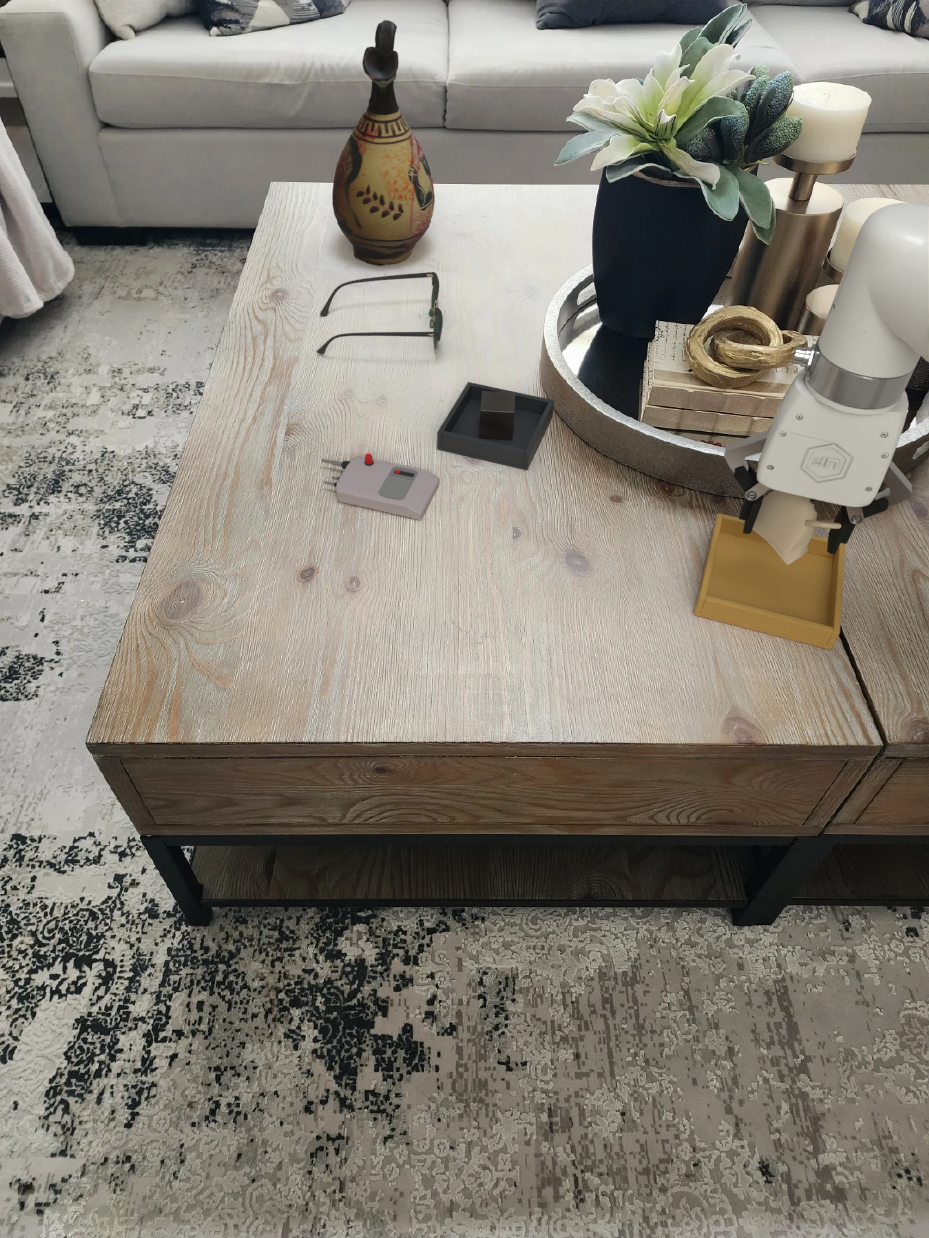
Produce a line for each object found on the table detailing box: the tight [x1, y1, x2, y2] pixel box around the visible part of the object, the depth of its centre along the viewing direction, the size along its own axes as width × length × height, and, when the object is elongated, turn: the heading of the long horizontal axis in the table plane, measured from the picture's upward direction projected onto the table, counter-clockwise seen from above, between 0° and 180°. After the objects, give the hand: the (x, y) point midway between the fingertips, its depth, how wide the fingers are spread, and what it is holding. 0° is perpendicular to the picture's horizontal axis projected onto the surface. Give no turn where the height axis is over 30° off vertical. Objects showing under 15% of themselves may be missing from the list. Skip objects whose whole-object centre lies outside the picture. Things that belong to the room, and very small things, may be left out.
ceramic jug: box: [331, 19, 436, 266], centre depth 123 cm, size 17×15×30 cm
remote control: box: [320, 452, 454, 521], centre depth 94 cm, size 7×16×3 cm, turn 73°
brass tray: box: [693, 513, 846, 651], centre depth 86 cm, size 13×13×2 cm
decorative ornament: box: [742, 490, 841, 565], centre depth 80 cm, size 4×8×5 cm, turn 26°
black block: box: [479, 391, 515, 440], centre depth 101 cm, size 4×4×4 cm
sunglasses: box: [316, 271, 444, 355], centre depth 116 cm, size 16×17×5 cm
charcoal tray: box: [436, 381, 555, 471], centre depth 102 cm, size 11×11×2 cm
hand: (789, 533), depth 81 cm, fingers closed on decorative ornament, 7 cm apart
